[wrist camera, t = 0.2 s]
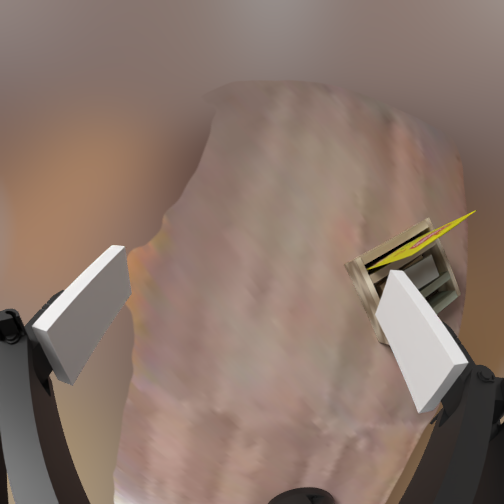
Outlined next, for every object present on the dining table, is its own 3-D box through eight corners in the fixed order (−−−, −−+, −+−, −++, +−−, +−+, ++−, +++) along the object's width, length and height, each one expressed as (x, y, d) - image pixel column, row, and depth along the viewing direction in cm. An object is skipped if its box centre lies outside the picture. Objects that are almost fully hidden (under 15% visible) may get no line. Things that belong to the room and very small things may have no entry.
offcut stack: (424, 277, 49) (441, 274, 43) (379, 306, 48) (395, 306, 42) (414, 255, 50) (431, 250, 43) (369, 283, 49) (383, 280, 43)
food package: (413, 236, 50) (475, 206, 31) (415, 241, 50) (478, 213, 30) (354, 270, 49) (410, 251, 29) (357, 276, 49) (414, 259, 29)
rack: (443, 295, 48) (460, 294, 42) (378, 341, 47) (393, 345, 41) (413, 225, 51) (428, 217, 45) (344, 264, 49) (355, 259, 43)
